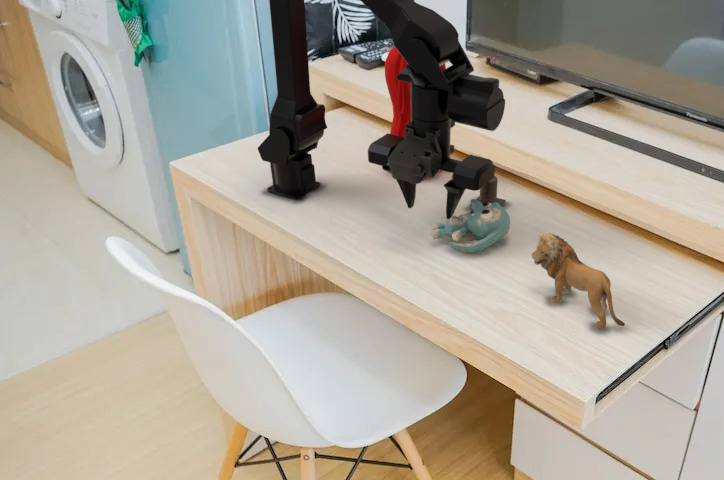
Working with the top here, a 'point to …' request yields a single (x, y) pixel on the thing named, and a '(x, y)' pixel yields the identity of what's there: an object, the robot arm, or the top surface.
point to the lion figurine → (574, 275)
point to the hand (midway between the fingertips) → (430, 212)
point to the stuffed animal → (476, 226)
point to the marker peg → (490, 193)
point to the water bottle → (399, 92)
